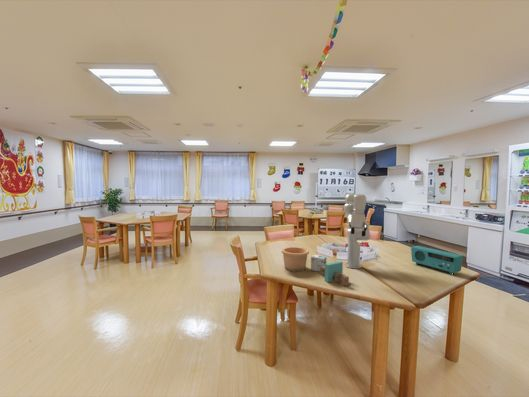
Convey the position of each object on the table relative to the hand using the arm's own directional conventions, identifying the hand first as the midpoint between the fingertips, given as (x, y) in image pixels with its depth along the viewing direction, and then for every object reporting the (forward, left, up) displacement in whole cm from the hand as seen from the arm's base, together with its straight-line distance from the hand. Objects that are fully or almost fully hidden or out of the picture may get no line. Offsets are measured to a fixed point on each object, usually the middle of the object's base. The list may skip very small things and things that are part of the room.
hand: (357, 234), depth 176 cm
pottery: (-16, -44, -31) cm, 56 cm away
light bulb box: (-11, -26, -31) cm, 42 cm away
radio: (-15, +69, -31) cm, 76 cm away
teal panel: (+9, -20, -30) cm, 37 cm away
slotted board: (+9, -20, -30) cm, 37 cm away
